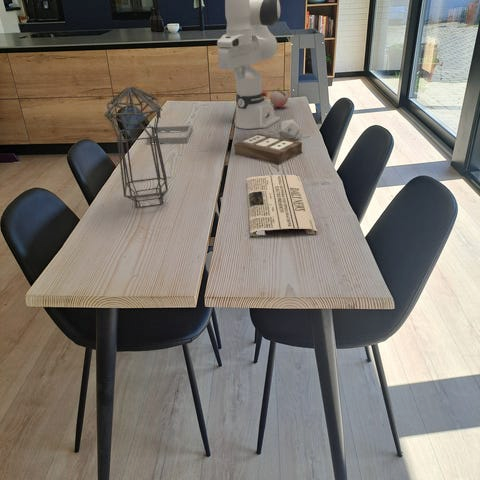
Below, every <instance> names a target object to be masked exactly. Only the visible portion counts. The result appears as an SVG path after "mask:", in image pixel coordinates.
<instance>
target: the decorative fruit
mask: <svg viewBox="0 0 480 480" xmlns="http://www.w3.org/2000/svg"><path fill="white" fill-rule="evenodd" d="M269 100H270V103H271V105H272V106H274V107H276V108H278V109H280V108H282V107H284V106H285V105H286V104H287V103H288V100H289V95H288V93H287V92H286V91H285V90H280V89H279V88H278V89H277V88H276V89H273V90H272V92H271V94H270V95H269Z"/></svg>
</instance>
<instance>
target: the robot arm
mask: <svg viewBox="0 0 480 480" xmlns="http://www.w3.org/2000/svg"><path fill="white" fill-rule="evenodd" d="M224 8H225V9H224V10H225V11H224V13H225V19H226V29H225V30H226V33H225V34H223V35H222V36H221V37H220V38H219V39H218V40H217V42H216V46H217V47H218V50H217V65H218V68H219V70H220V71H225V72H226V71H231V70H232V71H233V73H234V76H235V77H234V78H235V86H236V93H235V100H236V103H237V104H236V105H235V118H234V120H233V121H234V126H235V127H236V128H239V129H243V130H244V129H246V130H249V129H250V130H252V129H266V128H269V127H270V126H272V125H273V124H275V123H276V122H278V121H279V120H280V117H279V116H277V115H275V108H274V107H273V105H272V104H270V103H269V102H268V101H266V99H265V97H266V98H267V97H268V95H269V93H268V91H263V90H262V88H263V87H262V75H261V73H260V71H258V70H257V69H255V67H252V64H256V63H259V62H261V61H265V60H270V59H271V60H272V59H273V58H274V57H275V55H276V54H277V50H278V41H277V38H276V36H275V35H274V34H273V33H272V32H271V31H270V29H269V28H268V27H273V26H274V25H275V24H276V23H278V21H279V19H280V16H281V4H280V0H224Z"/></svg>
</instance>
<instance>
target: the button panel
mask: <svg viewBox="0 0 480 480" xmlns="http://www.w3.org/2000/svg"><path fill="white" fill-rule="evenodd" d="M256 135H259V136H264V137H266V139H264V140H262V141H265V140H267V139H269V138H273V139H278V140H279V142H277V143H275V144H273V145H271V146H274V145H276V144H278V143H280V142H282V141H288V142H293V145H291V146H289V147H287V148H285V149H283V150H281V151H277V150H272V149H270V147H271V146H269V147H266V148H263V147H259V146H256V144H258V143H260V142H262V141H260V142H257V143H255V144H253V145H250V144H245V143H243V141H245V140H247V139H249V138H252V137H254V136H256ZM233 145H234V147H233V149H234V154H235V155H239V156H243V157H247V158H250V159H255V160H258V161H262V162H267V163H271V164H273V165H274V164H275V165H278V166H279V165H280V164H282V163H284V162H286V161H288V160H290V159H291V158H292V159H293V158H294V157H296V156H299V155H300V154H302V153H303V152H302V151H303V142H301V141H297V140H287V139H282V138H281V137H278V136H273V135H272V136H271V135H267V134H263V133H256V134H254V135H252V136H249V137H247V138H245V139H243V140H240V141H238V142H235V143H234V144H233Z"/></svg>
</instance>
